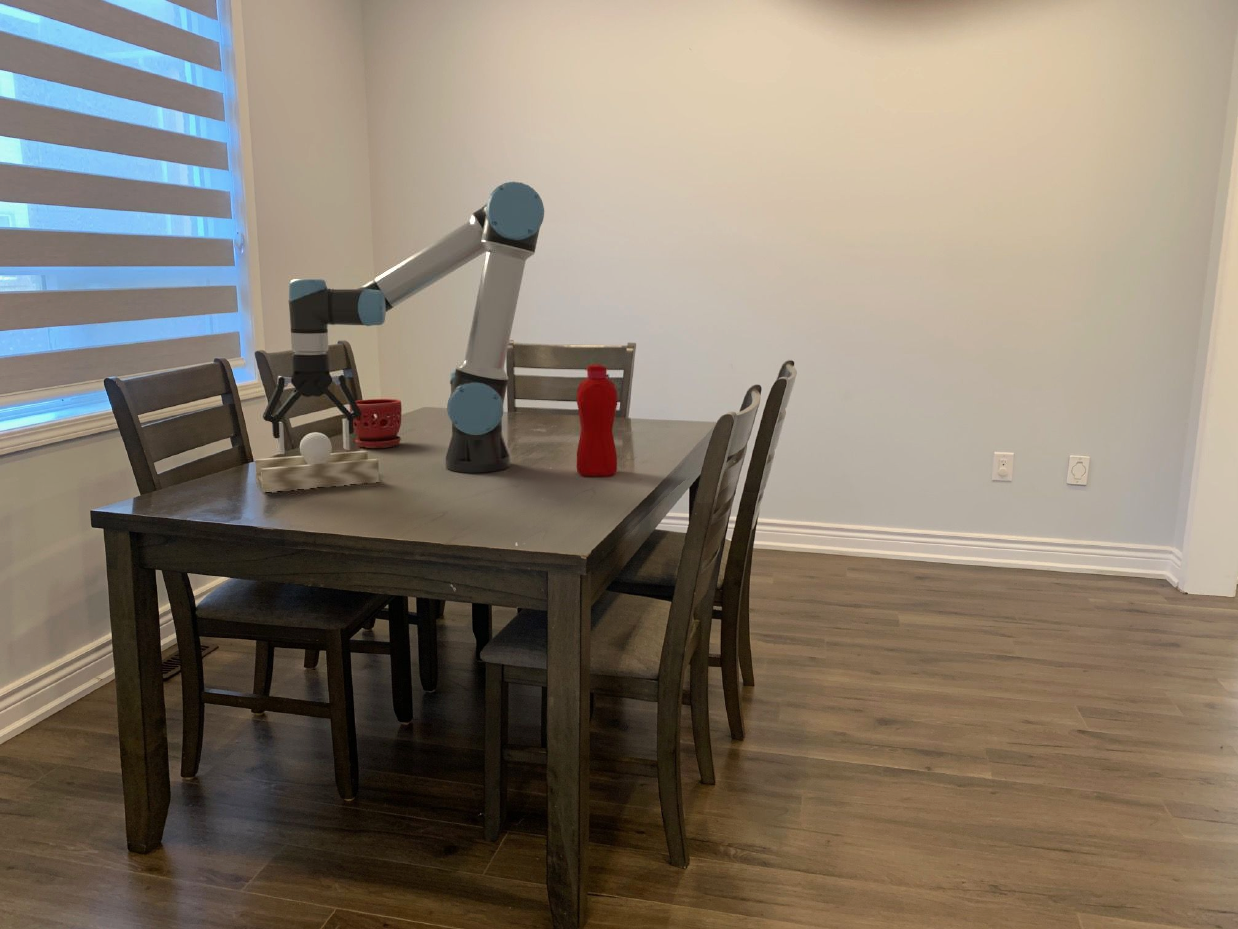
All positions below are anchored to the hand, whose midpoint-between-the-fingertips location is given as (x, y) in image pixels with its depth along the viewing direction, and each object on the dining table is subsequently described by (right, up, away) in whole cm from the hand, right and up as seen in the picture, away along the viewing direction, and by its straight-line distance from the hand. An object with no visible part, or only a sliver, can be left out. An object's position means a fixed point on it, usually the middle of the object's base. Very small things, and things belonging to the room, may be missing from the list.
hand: (314, 451), depth 206 cm
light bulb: (0, -7, +1) cm, 7 cm away
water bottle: (+62, -5, +13) cm, 63 cm away
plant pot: (+2, +2, +44) cm, 45 cm away
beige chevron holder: (0, -7, +1) cm, 7 cm away
